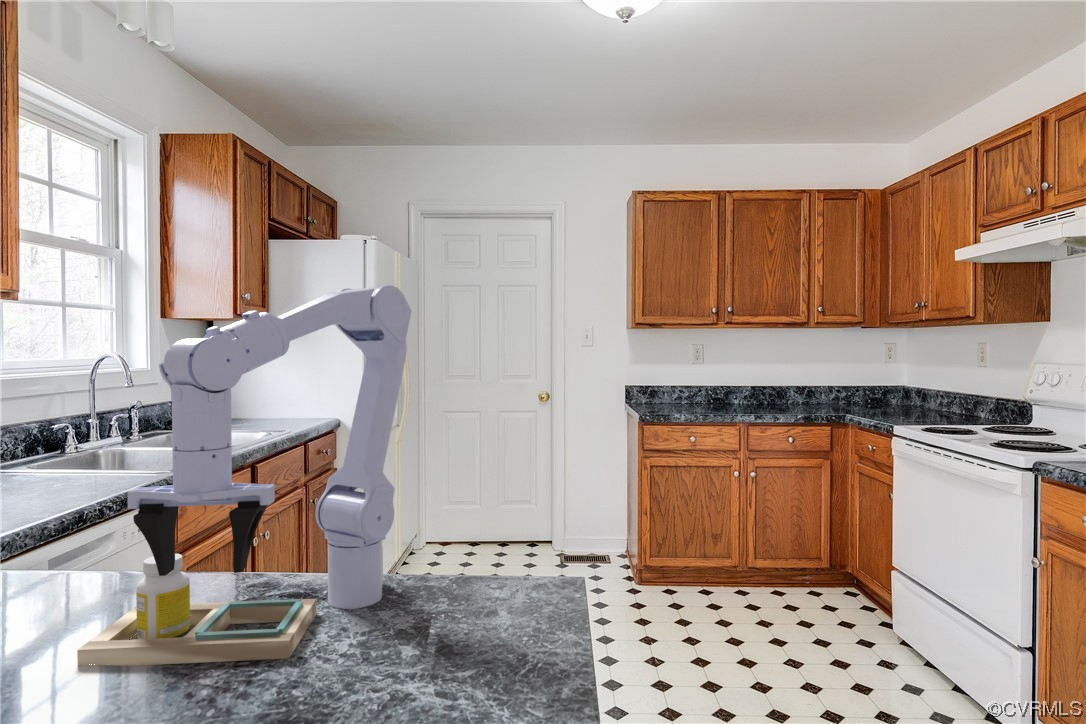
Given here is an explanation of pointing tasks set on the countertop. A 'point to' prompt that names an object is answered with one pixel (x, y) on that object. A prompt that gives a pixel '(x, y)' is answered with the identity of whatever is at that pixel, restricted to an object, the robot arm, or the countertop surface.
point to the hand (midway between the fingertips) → (203, 571)
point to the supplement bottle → (163, 602)
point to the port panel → (207, 635)
